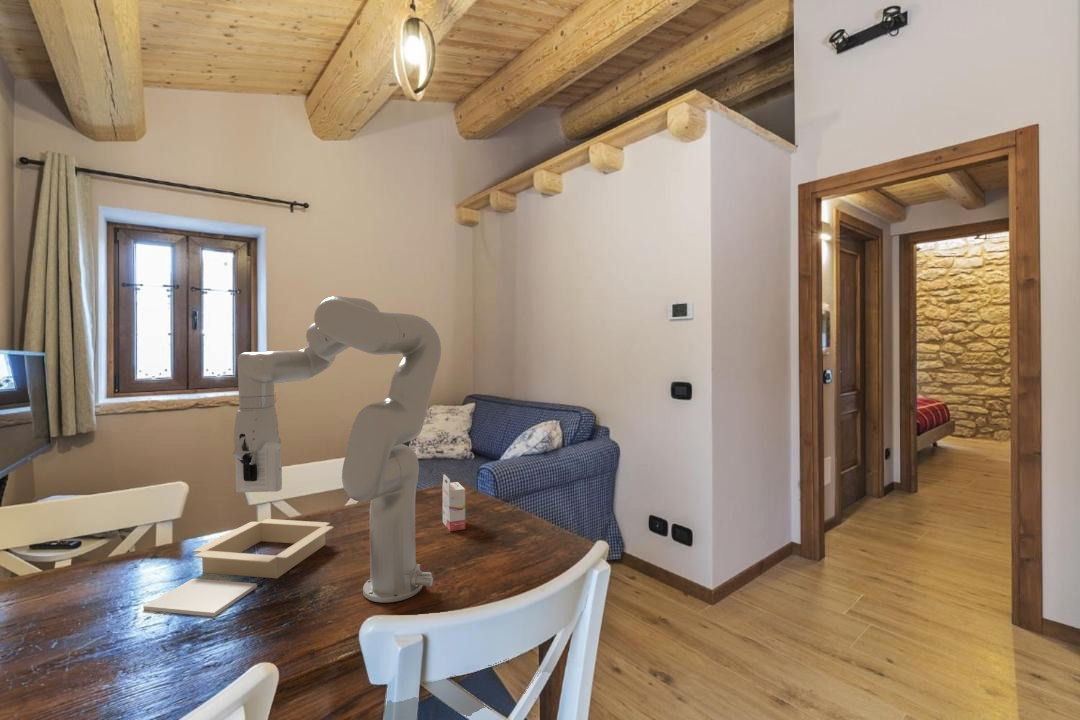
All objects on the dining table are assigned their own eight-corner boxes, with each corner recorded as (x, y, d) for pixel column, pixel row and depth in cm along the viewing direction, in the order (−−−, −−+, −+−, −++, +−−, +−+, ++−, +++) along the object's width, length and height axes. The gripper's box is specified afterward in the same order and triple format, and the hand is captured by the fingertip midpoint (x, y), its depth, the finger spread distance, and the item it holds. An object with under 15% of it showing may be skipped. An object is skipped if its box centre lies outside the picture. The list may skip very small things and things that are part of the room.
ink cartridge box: (466, 529, 145) (466, 478, 145) (449, 532, 143) (449, 480, 143) (458, 519, 153) (457, 471, 153) (442, 522, 151) (441, 473, 150)
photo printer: (285, 487, 126) (283, 438, 126) (278, 492, 122) (276, 441, 121) (241, 489, 125) (239, 439, 125) (232, 494, 121) (231, 442, 120)
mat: (257, 587, 112) (256, 583, 112) (213, 616, 100) (213, 612, 100) (193, 581, 114) (192, 578, 114) (143, 610, 102) (143, 606, 102)
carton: (339, 541, 137) (338, 523, 137) (279, 584, 113) (279, 562, 113) (258, 536, 141) (257, 518, 140) (184, 576, 117) (183, 555, 116)
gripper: (268, 398, 132) (270, 468, 132) (215, 407, 115) (217, 486, 116) (294, 399, 130) (296, 469, 131) (244, 408, 114) (247, 488, 114)
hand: (259, 476), depth 123 cm, fingers closed on photo printer, 5 cm apart
